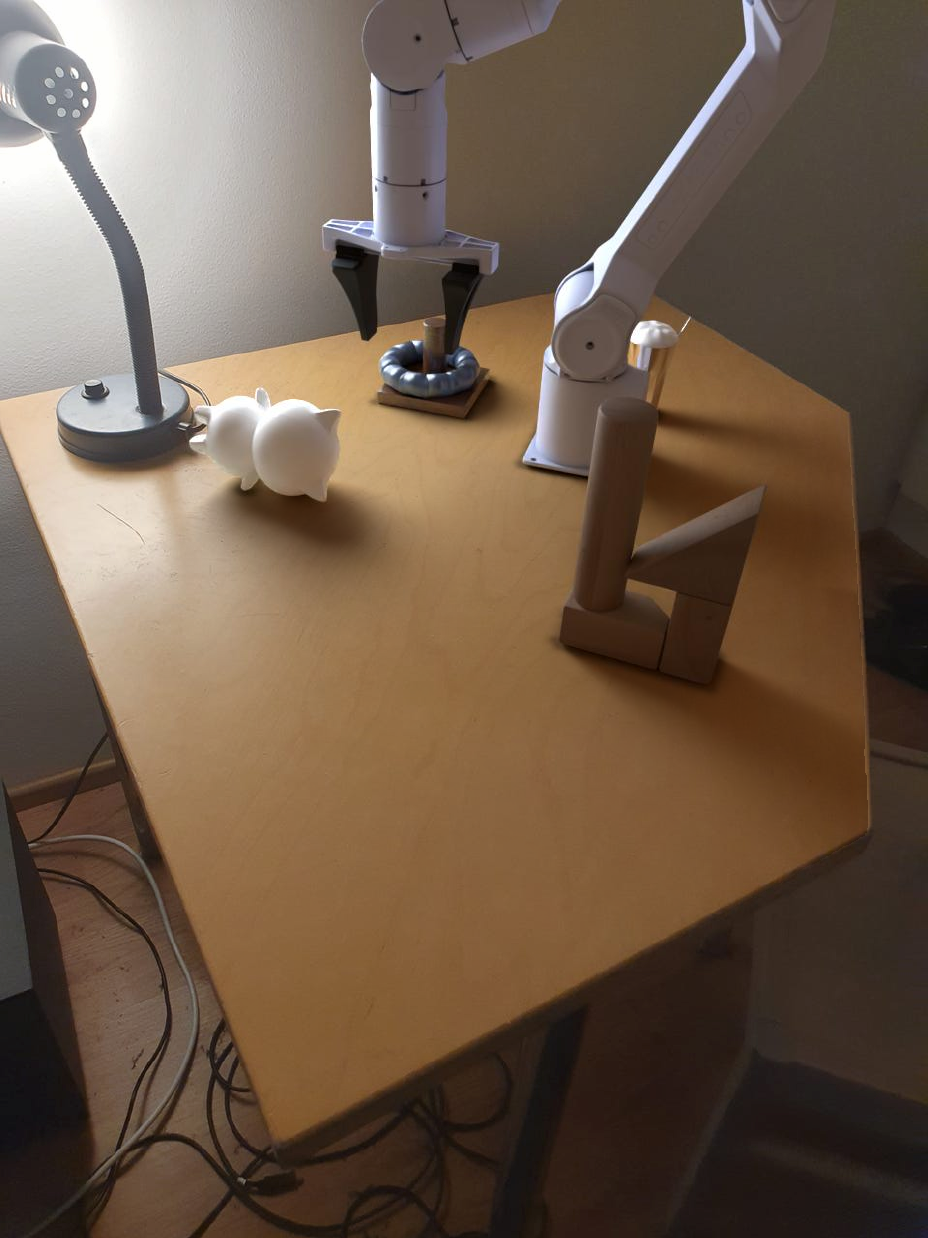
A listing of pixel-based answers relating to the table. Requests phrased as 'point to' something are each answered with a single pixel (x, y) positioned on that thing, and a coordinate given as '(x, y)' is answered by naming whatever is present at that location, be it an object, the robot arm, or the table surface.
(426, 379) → the ring
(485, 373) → the stand
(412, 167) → the robot arm
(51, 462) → the table surface
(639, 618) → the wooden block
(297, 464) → the cat figurine
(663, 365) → the milkshake
